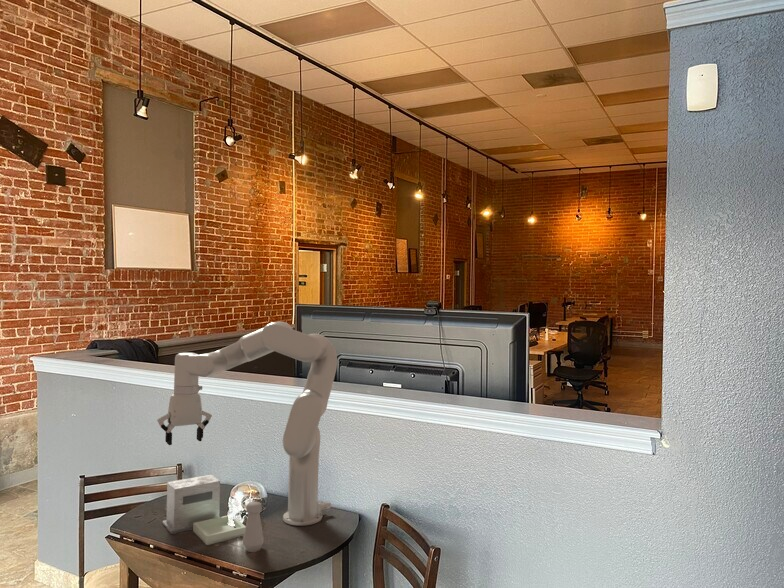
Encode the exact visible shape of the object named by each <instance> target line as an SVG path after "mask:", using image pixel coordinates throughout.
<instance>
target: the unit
mask: <svg viewBox="0 0 784 588" xmlns="http://www.w3.org/2000/svg"><path fill="white" fill-rule="evenodd" d="M220 495H221V480H220V479H218V478H217V477H216V476H214V475H213V474H207V475H201V476H200V475H199V476H195V477H189V478H183V479H177V480H172V481H167V483H166V503H167V511H166V520H165V519H164V520H162V521H161V523H162V525H163V527H165V529H166V530H167V531H168V532H169V534H171V535H174V534H178V533H182V532H187V531H191V530H192V531H193V523H196V522H200V521H205V520H209V519H214V518H218V517H221V516H220V509H221V507H220V506H221V505H220V500H221V499H220V497H221V496H220Z"/></svg>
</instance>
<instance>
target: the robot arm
mask: <svg viewBox="0 0 784 588" xmlns="http://www.w3.org/2000/svg"><path fill="white" fill-rule="evenodd" d="M273 352H276V353H278V354H281V355H283V356H287V357H289V358H292V359H295V360H297V361H300V362H303V363H311V364H310V369H309V371H308V373H307V377H306V382H305V385H304V387H303V390H302V392H301V394H300V395H298V396H297V397H296V398H295V400H294V401H293V403H292V406H291V408H290V411H289V416H288V418H287V423H286V425H285V430H284V432H283V436H282V447H283V450H284V452H285V453H286V454H287V455H288V456H289V458H288V490H287V493H288V494H287V511H286V512H285V513H283V515H282V521H283V522H284V523H285V524H288V525H291V526H297V527H298V526H310V525H311V526H312V525H315V524H317V523H319V522H321V520H322V519H323V513H322V512H323V510H327V509H330V508H332V504H331V502H330V501H327V502H324V501H319V464H320V463H319V459H320V446H321V431H320V428H319V426H320V425H319V424H320V422H321V421H320V420H321V418H322V416H323V415H324V414H325V413H326V410H327V407H328V404H329V399H330V396H331V392H332V388H333V384H334V380H335V377H336V372H337V368H338V357H337V356H338V355H337V352H336V349H335V347H334V345H333V343H332V342H331V341H330V340H329V339H328V338H327V337H326V336H324V335H322V334H320V333H316V332H315V333H314V332H313V333H309V334H307V333H304V332H301V331H299V330H295V329H293V327H292V326H291V325H290V324H289V323H287V322H286V321H274V322H270V323H268V324H266V325H265V326H264V327H262V328H260V329H257V330H256V331H253V332H250V333H247V334H246V335H243V336H241V337H240V338H239V339H238V340H237V341H236V342H234V343H232V344H229V345H227V346H225V347H222V348H221V349H218V350H216V351H211V352H207V353H201V354H198V353H197V352H196V353H195V352H179V353H177V354H175V357H174V379H173V381H174V382H173V383H174V384H173V394H171V395H170V398H169V403H168V410H167V413H166V414H165V415H163V416H160V417H159V418H158V419H157V420H156V422H157V423H158V425H159V427H160V428H161V429H162V431H164V432H165V439H164V440H165V443H166V444H167V445H168V446H172V445H173V432H172V431H173V429H174V428H175V427H181V426H182V427H183V426H193V425H196V426H197V427H196V440H197V441H198V442H202V441H203V438H204V429H205V428H206V426H207V425H208V424H209V423H210V421H211V418H212V414H211V413H209V412H206V411H204V410H202V409H203V406H202V398H201V394H200V393H199V391H201V390H203V386H202V385H200V384H199V378H200V377H202V378H208V377H212V376H215V375H218V374H221V373H223V372H225V371H228V370H231V369H233V368H235V367H237V366H240V365H242V364H244V363H247V362H251V361H254V360H256V359H257V360H258V359H259V358H262V357H264V356H266V355H268V354H271V353H273ZM203 417H205V418H204V420H203V421H202V418H203ZM166 420H167V423H168V424H167V425H165V423H164V422H165V421H166Z"/></svg>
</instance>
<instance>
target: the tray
mask: <svg viewBox="0 0 784 588" xmlns="http://www.w3.org/2000/svg"><path fill="white" fill-rule="evenodd" d="M228 515H229V514H228ZM228 515H223V516H220V517H218V518H214V519H209V520H205V521H200V522H196V523H193V529H192V532H193V533H194V534H195V535H196V536H197V537H198V538H199V539H200V541H202V542H203V544H205V546H210V545H213V544H218V543H220V542H225V541H226V542H227V541H229V539H230V540H233V539H232V538H234V539H237V538H236V537H238V538H241V537H240V536H242V537H244V533H245V527H246V524H243V523H242V522H241V521H240V520H239V519H237V518H236V519H233V521H234V524H235V527H236V528H234V527H230V526H228V524H227V522H228Z"/></svg>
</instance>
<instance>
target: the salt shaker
mask: <svg viewBox="0 0 784 588" xmlns="http://www.w3.org/2000/svg"><path fill="white" fill-rule="evenodd" d="M262 505H263V504H262V503H261V502H259V501H250V502H248V503H247V504H246V506H245V510H246V512H247V518H246V523H245V526H246V527H245V533H244V536H243V539H242V543H243V546H244V548H245V550H246V551H247V552H249V553H256V552H260V550H261V549H262V546H263V543H264V542H265V537H264V533H263V526H262V519H261V511H262V509H263V506H262Z"/></svg>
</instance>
